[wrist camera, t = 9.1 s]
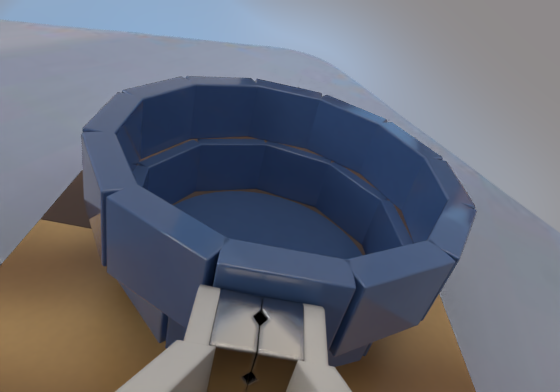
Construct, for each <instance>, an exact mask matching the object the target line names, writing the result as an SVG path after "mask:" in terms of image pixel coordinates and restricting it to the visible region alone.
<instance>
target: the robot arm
mask: <svg viewBox="0 0 560 392" xmlns="http://www.w3.org/2000/svg"><path fill="white" fill-rule="evenodd" d="M220 291H221V293H220ZM219 296H220V297H219ZM115 392H352V391H351V389H350V388H349V387H348V385H347V384H346V382H345V381H344V379H343V378H342V377H341V375H340V374H339V372H338V371H337V369H336V368H335V367H333V366H329V365H328V351H327V337H326V322H325V310H324V308H323V307H322V306H317V305H311V304H305V303H303V304H302V303H300V302H294V301H288V300H282V299H277V298H271V297H265V296H257V295H252V294H248V293H243V292H238V291H233V290H228V289H224V288H217V287H212V286H207V285H202V284H200V286H199V288H198V290H197V294H196V298H195V301H194V305H193V308H192V312H191V316H190V319H189V323H188V326H187V330H186V334H185V337H184V341H182V340H176V341H175V342H174V343H173V344H171V345H170V346H169V347H168V348H167V349H166V350H164V351H163V352H162V353H161V354H160V355H158V356H157V357H156V358H155V359H154V360H152V361H151V362H150V363H149V364H148V365H146V366H145V367H144V368H143V369H142V370H140V371H139V372H138V373H137V374H136V375H134V376H133V377H132V378H131V379H130V380H128V381H127V382H126V383H125V384H124V385H122V386H121V387H120V388H119V389H118V390H116V391H115Z"/></svg>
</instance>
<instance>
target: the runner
mask: <svg viewBox="0 0 560 392" xmlns="http://www.w3.org/2000/svg"><path fill="white" fill-rule="evenodd" d="M165 344H166V341H164V342H162V343H158V341H157V340H156V338H155V337H154V335H153V334H152V332H151V330H150V329H149V327H148V326H147V324H146V323H145V321H144V320H143V318H142V317H141V315H140V314H139V312H138V311H137V309H136V308H135V306H134V305H133V303H132V302H131V300H130V299H129V297H128V296H127V294H126V293H125V291H124V290H123V288H122V287H121V285H120V284H119V282H118V281H117V280H116V279H115V278H113V277H112V276H111V275H109V274H108V273H107V266H102V264H101V260H100V257H99V253H98V250H97V246H96V242H95V239H94V235H93V232H92V229H90V228H84V227H79V226H74V225H68V224H63V223H57V222H52V221H47V220H39V221H38V222H37V224H36V225H35V226H34V227H33V228H32V229H31V231H30V232H29V233H28V234H27V235H26V236H25V238H24V239H23V240H22V241H21V242H20V243H19V245H18V246H17V247H16V248H15V249H14V250H13V252H12V253H11V254H10V255H9V256H8V257H7V259H6V260H5V261H4V262H3V263H2V264H1V266H0V392H115V391H116V390H118V389H119V388H120V387H121V386H122V385H124V384H125V383H126V382H127V381H128V380H130V379H131V378H132V377H133V376H134V375H136V374H137V373H138V372H139V371H140V370H142V369H143V368H144V367H145V366H146V365H148V364H149V363H150V362H151V361H152V360H154V359H155V358H156V357H157V356H158V355H160V354H161V353H162V352H163V351H164V350H166V348H165ZM335 368H336V369H337V371H338V372H339V374H340V375H341V377H342V378H343V379H344V381H345V382H346V384H347V385H348V387H349V388H350V389H351V391H352V392H476V391H475V388H474V385H473V383H472V380H471V377H470V375H469V372H468V369H467V367H466V364H465V361H464V359H463V356H462V354H461V351H460V348H459V346H458V343H457V340H456V338H455V335H454V332H453V330H452V327H451V324H450V322H449V319H448V316H447V314H446V311H445V308H444V306H443V303H442V300H441V298H440V295H438V296H437V298H436V300H435V301H434V303H433V305H432V306H431V308H430V310H429V311H428V313H427V315H426V316H425V318H424V320H423V321H420V323H419V324H418V325H417V326H414V327H412V328H409V329H406V330H404V331H401V332H399V333H396V334H393V335H391V336H388V337H385V338H383V339H380V340H378V341H375V342H373V344H372V345H371V347H370V349H369V351H368V353H367V355H366V356H362V358H361V360H360V361H356V362H353V363H349V364H345V365H341V366H337V367H335Z"/></svg>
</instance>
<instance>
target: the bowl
mask: <svg viewBox="0 0 560 392" xmlns="http://www.w3.org/2000/svg"><path fill="white" fill-rule="evenodd" d="M225 137H252V138H257V139H202V138H225ZM189 139H197V141H195V140H190V141H188V142H185V143H183V144H181V145H178V146H176V147H173V148H171V149H169V150H166V151H164V152H161V153H159V154H157V155H154V156H152V157H149V158H147V159H145V160H142V161H140V159H143V158H145V157H148V156H150V155H153V154H155V153H157V152H160V151H162V150H165V149H167V148H170V147H172V146H174V145H177V144H179V143H182V142H184V141H187V140H189ZM264 140H266V141H267V142H266V143H265V141H264ZM81 142H82V165H83V188H84V203H85V207H86V210H87V214H88V217H89V221H90V225H91V228H92V232H93V235H94V239H95V242H96V246H97V250H98V253H99V257H100V260H101V264H102V266H107V273H108V274H109V275H111V276H112V277H113V278H115V279H116V280H117V281H118V282H119V284H120V285H121V287H122V288H123V290H124V291H125V293H126V294H127V296H128V297H129V299H130V300H131V302H132V303H133V305H134V306H135V308H136V309H137V311H138V312H139V314H140V315H141V317H142V318H143V320H144V321H145V323H146V324H147V326H148V327H149V329H150V330H151V332H152V334H153V335H154V337H155V338H156V340H157V341H158V343H162V342H164V341H166V344H165V348H166V349H167V348H168V347H169V346H170V345H171V344H173V343H174V342H175V341H176V340H182V341H184V337H185V334H186V330H187V326H188V323H189V319H190V316H191V312H192V308H193V305H194V301H195V298H196V294H197V290H198V288H199V286H200V284H202V285H207V286H212V287H217V288H224V289H228V290H233V291H238V292H243V293H248V294H252V295H257V296H265V297H271V298H277V299H282V300H288V301H294V302H300V303H302V304H303V303H305V304H311V305H317V306H322V307H323V308H324V310H325V322H326V337H327V351H328V365H329V366H333V367H337V366H341V365H345V364H349V363H353V362H356V361H360V360H361V358H362V356H366V355H367V353H368V351H369V349H370V347H371V345H372V344H373V342H375V341H378V340H380V339H383V338H385V337H388V336H391V335H393V334H396V333H399V332H401V331H404V330H406V329H409V328H412V327H414V326H417V325H418V324H419V323H420V321H423V320H424V318H425V316H426V315H427V313H428V311H429V310H430V308H431V306H432V305H433V303H434V301H435V300H436V298H437V296H438V295H439V293H440V291H441V290H442V288H443V286H444V285H445V283H446V281H447V280H448V278H449V276H450V275H451V273H452V271H453V270H454V268H455V266H456V265H457V263H458V261H459V260H460V257H461V255H462V252H463V249H464V246H465V244H466V241H467V238H468V235H469V232H470V230H471V227H472V224H473V221H474V219H475V216H476V213H477V211H476V210H475V205H474V203H473V202H472V200H471V199H470V197H469V196H468V194H467V192H466V191H465V189H464V188H463V186H462V185H461V183H460V182H459V180H458V178H457V177H456V175H455V174H454V172H453V171H452V169H451V167H450V166H449V164H448V163H447V162H446V161H443V160H442V159H443V158H442V157H441V156H440V155H438V154H437V153H435V152H434V151H432V150H431V149H430V148H428V147H427V146H425V145H424V144H422V143H421V142H420V141H418V140H417V139H415V138H414V137H412V136H411V135H410V134H408V133H407V132H405V131H404V130H402V129H401V128H399V127H398V126H397V125H395V124H394V123H392V122H387V120H386V119H384V118H382V117H380V116H377V115H375V114H372V113H370V112H367V111H365V110H363V109H360V108H358V107H355V106H353V105H350V104H348V103H346V102H343V101H341V100H338V99H336V98H333V97H331V96H328V95H325V96H323V97H322V93H319V92H315V91H310V90H306V89H301V88H296V87H292V86H287V85H283V84H278V83H274V82H269V81H265V80H260V79H256V81H254V80H253V79H251V78H230V77H200V76H186V78H183V77H176V78H172V79H168V80H163V81H159V82H155V83H151V84H146V85H142V86H138V87H134V88H129V89H125V90H123V91H122V93H120V92H117V94H116V95H115V96H114V97H113V98H112V99H111V100H110V101H109V102H108V103H107V104H106V105H105V106H104V107H103V108H102V109H101V110H100V111H99V112H98V113H97V114H96V115H95V116H94V117H93V118H92V119H91V120H90V121H89V122H88V123H87V124H86V125H85V126H84V127H83V132H82V134H81ZM280 143H281V144H280ZM283 144H286V145H291V146H295V147H300V148H305V149H308V150H310V151H312V152H315V153H317V154H319V155H321V156H319V155H316V154H312V153H309V152H306V151H303V150H299V149H296V148H293V147H289V146H286V145H283ZM322 156H323V157H322ZM139 161H140V162H139ZM331 161H334V162H332V163H331ZM137 164H138V165H137ZM345 167H347V168H349V169H351V170H353V171H355V172H357V173H359V174H361V175H362V176H363V177H364V178H365V179H366V180H367V181H369V182H370V183H371V184H372V185H373V186H374V187H375V188H374V187H373V186H371V185H370V184H368V183H367V182H365V181H364V180H363V179H361V178H360V177H358V176H357V175H355V174H354V173H352V172H351V171H349V170H348V169H347V168H345ZM242 189H258V190H262V191H265V192H268V193H271V194H274V195H278V196H281V197H284V198H287V199H290V200H294V201H297V202H300V203H303V204H306V205H309V206H313V207H315V208H317V209H318V210H319V211H320V212H322V213H323V214H324V215H325V216H327V217H328V218H329V219H330V220H332V221H333V222H334V223H335V224H337V225H338V226H339V227H340V228H342V229H343V230H344V231H345V232H347V233H348V234H349V235H350V236H352V237H353V238H354V239H355V240H357V241H358V242H359V243H360V244H362V247H363V249H364V252H365V255H362V253H361V252H360V250H359V249H358V247H357V246H356V245H355V244H354V242H353V241H352V240H351V239H350V238H349V237H348V236H347V235H346V234H345V233H344V232H343V231H342V230H341V229H340V228H339V227H337V226H336V225H335V224H334V223H332V222H331V221H329V220H328V219H326V218H325V217H324V216H322V215H320V214H318V213H317V212H315V211H313V210H311V209H309V208H307V207H305V206H303V205H300V204H298V203H295V202H293V201H290V200H287V199H284V198H280V197H277V196H272V195H268V194H262V193H256V192H246V191H223V192H213V193H207V194H202V195H198V196H194V197H191V198H189V199H186V200H183V201H181V202H179V203H177V204H175V205H172V204H174V203H176V202H178V201H179V200H181V199H183V198H185V197H187V196H188V195H190V194H192V193H194V192H199V191H220V190H242ZM377 189H378V190H377ZM388 199H389V200H388ZM394 205H395V206H397V207H398V208H399V209H400V210H401V211H402V214H403V217H404V219H405V222H406V225H407V227H408V230H409V233H410V235H411V237H410V235H409V233H408V231H407V229H406V227H405V225H404V223H403V221H402V219H401V217H400V215H399V214H398V212H397V210H396V208H395V206H394ZM411 238H412V239H411ZM220 293H221V291H220ZM219 297H220V296H219Z"/></svg>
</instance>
